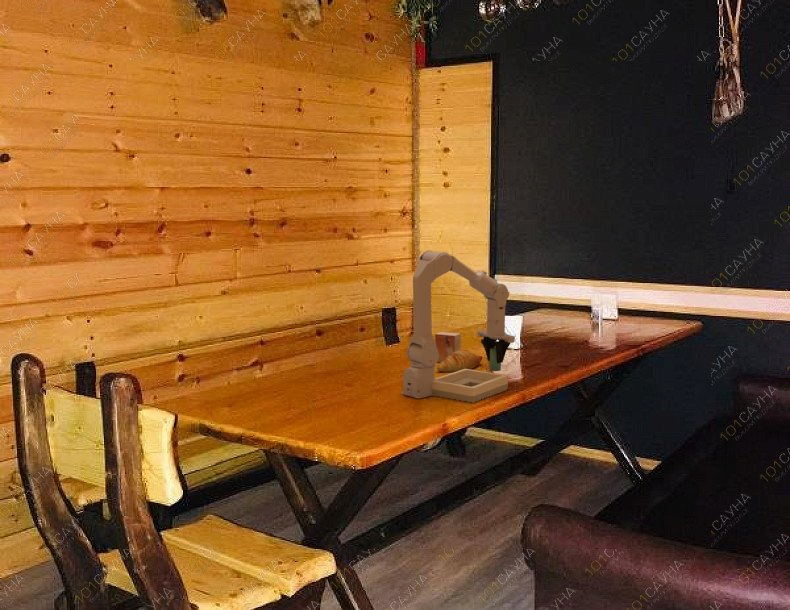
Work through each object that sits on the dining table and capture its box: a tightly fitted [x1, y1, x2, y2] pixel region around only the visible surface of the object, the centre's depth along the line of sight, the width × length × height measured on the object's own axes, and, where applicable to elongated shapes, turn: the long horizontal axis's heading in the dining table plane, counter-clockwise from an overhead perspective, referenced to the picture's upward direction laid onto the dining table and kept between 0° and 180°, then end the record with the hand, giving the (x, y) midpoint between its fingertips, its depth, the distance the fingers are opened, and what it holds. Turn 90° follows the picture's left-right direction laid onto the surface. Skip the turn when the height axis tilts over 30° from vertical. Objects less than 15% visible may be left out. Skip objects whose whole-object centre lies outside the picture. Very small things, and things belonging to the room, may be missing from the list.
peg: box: [489, 348, 502, 372], centre depth 266 cm, size 4×4×7 cm
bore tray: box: [432, 369, 509, 404], centre depth 255 cm, size 20×16×4 cm
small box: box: [434, 331, 462, 363], centre depth 298 cm, size 8×6×10 cm
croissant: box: [436, 349, 483, 373], centre depth 287 cm, size 21×10×8 cm, turn 131°
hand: (495, 361), depth 266 cm, fingers closed on peg, 4 cm apart
